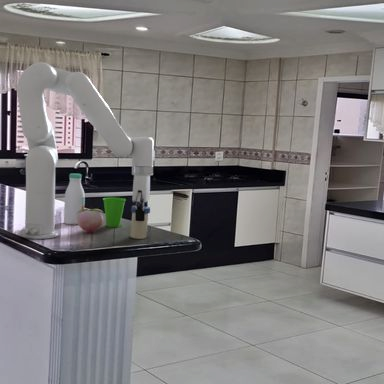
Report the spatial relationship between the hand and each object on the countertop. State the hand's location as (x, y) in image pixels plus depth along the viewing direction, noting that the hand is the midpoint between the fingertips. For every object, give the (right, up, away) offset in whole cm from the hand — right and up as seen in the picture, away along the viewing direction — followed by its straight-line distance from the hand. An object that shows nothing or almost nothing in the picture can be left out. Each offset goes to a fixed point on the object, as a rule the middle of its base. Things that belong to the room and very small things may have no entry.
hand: (141, 218), depth 208 cm
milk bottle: (-32, -3, +20) cm, 38 cm away
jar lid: (0, +4, 0) cm, 4 cm away
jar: (-1, -7, +1) cm, 7 cm away
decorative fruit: (-20, -5, +3) cm, 21 cm away
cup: (-16, -4, +20) cm, 26 cm away
